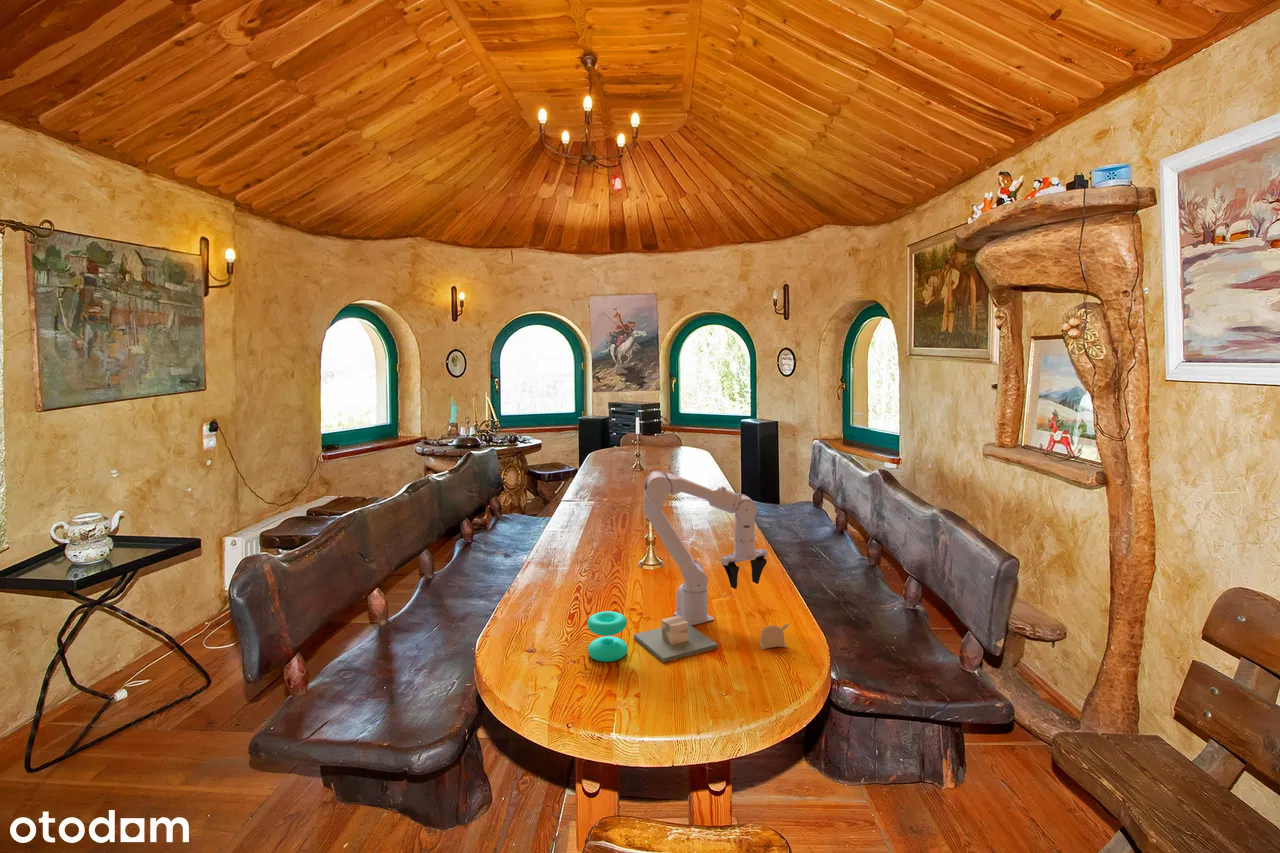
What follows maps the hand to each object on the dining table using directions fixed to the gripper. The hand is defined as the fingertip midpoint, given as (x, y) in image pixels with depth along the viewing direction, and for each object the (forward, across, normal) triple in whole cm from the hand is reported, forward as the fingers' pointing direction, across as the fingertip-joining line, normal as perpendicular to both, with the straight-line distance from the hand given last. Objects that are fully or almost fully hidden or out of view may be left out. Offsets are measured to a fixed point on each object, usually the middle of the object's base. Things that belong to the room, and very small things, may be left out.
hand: (744, 585), depth 192 cm
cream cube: (+8, -26, -5) cm, 28 cm away
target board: (+9, -26, -5) cm, 28 cm away
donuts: (+10, -44, -2) cm, 45 cm away
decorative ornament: (+10, -4, -19) cm, 22 cm away
